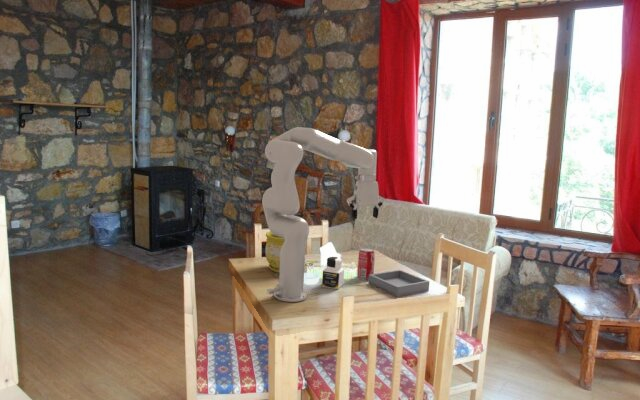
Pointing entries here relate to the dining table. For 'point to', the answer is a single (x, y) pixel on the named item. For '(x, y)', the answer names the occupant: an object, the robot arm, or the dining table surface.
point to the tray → (398, 282)
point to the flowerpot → (273, 251)
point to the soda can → (366, 263)
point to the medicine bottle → (333, 273)
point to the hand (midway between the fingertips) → (364, 217)
